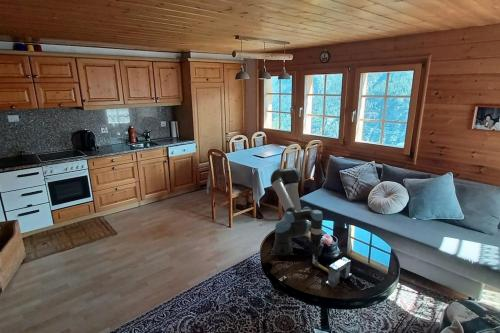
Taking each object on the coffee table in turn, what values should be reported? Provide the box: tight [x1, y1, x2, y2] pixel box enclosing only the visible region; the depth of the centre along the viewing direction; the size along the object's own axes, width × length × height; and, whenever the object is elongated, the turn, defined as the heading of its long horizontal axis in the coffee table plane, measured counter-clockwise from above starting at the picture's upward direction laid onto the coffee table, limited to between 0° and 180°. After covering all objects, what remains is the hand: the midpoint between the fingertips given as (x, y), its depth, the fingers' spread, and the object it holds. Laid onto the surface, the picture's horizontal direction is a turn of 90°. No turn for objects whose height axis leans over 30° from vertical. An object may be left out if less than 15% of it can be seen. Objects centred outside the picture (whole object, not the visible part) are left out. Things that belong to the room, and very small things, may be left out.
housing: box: [325, 256, 352, 288], centre depth 187 cm, size 6×20×12 cm, turn 128°
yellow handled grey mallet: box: [313, 261, 341, 279], centre depth 195 cm, size 19×4×6 cm, turn 38°
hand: (314, 262), depth 203 cm, fingers closed
